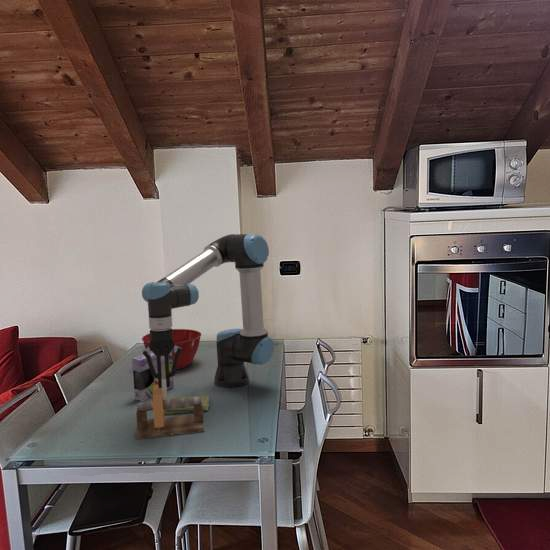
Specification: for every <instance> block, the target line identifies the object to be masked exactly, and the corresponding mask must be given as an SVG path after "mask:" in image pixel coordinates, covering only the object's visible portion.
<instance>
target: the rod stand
mask: <svg viewBox="0 0 550 550" xmlns="http://www.w3.org/2000/svg"><path fill="white" fill-rule="evenodd" d="M191 406H194V412H193V414H185V415H179V416H177V415H176V416H168V417H164V427H158V428H155V427H154V418H150V419H149V418H148V416H147V415H148V414H147V412H150V411H152V412H154V411H153V400H152V401H145V402H144V401H141V402H138V403H137V408H136V412H135V415H136V428H137V430H136V440H141V439H140V438H144V439H149V438H148V437H153V438H156V437H155V436H161V437H165V436H164V435H170V436H172V435H171V434H178V435H182V434H181V433H187V434H190V433H189V432H196V433H200V432H199V431H204V432H205V423H204V412H203V405H202V402H201V397H191V398H181V399H172V400H165V399H164V400H163V409H172V408H181V407H191Z"/></svg>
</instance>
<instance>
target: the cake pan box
mask: <svg viewBox="0 0 550 550" xmlns="http://www.w3.org/2000/svg"><path fill="white" fill-rule="evenodd" d="M150 356H151V359H152V362H153V365H154V368H155V371H156V373H158V370H157V356H156V355H155V354H154V353H153V352H152V351H151V353H150ZM168 358H169V372H171V370H172V365H173V364H172V351H171V353H170V354H169V355H168ZM131 361H132V373H133V375H132V376H133V391H134V392H133V393H134V400H136V401H138V400H139V401H138V402H144V401H146V399H147V400H149V399H151V398H153V388H154V385H158V379H157V378H153V377H152V374H151V371H150V368H149V365H148V362H147V359H146V357H145V356H144V355H143V354H141V355H138V356H135V357H132V358H131ZM161 371H162V377H166V372H165V356H161ZM174 385H175V384H174V376H172V377H170V387H167V391H168V390H170V389H172V388H174V387H175V386H174ZM148 398H149V399H148Z"/></svg>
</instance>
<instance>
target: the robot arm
mask: <svg viewBox="0 0 550 550" xmlns="http://www.w3.org/2000/svg"><path fill="white" fill-rule="evenodd" d="M269 253H270V251H269V245H268V242H267V241H266V239H265V238H264V237H263V236H262V235H260V234H254V233H244V234H243V233H242V234H241V233H239V234H234V233H231V234H227V235H224V236H221V237H219V238H217V239H216V240H214V241H212V242H211V243H209V244H207V245H206V246H205V247H204V248H203V250H202V251H201V252H200V253H199V254H197V255H195V256H194V257H193V258H191V259H189V260H188V261H187V262H185V263H183V264H182V265H180V266H179V267H177V268H176V269H174V270H173V271H172V272H170V273H168V274H167V275H166V276H164V277H162V278H161V279H160V280H158V281H156V282H154V281H153V282H147V283H146V284H145V285H144V286H143V287H142V289H141V296H142V299H143V300H144V301H145V302H147V309H148V310H147V312H148V327H149V333H150V344H149V347H148V348H147V349H146V348H145V349H143V351H142V355H144V356H145V357H146V359H147V362H148V365H149V368H150V371H151V374H152V377H153V378H157V379H158V386H159V388H162V396H163V399H167V398H168V390H167V387H170V377H172V376H173V377H174V376H176V375H175V374H176V371H177V370H176V365H177V360H178V355H179V353H180V352H181V347H178V346H176V345H175V343H174V341H173V330H172V329H173V328H172V327H173V316H172V314H173V313H172V311H173V309H177V308H179V309H180V308H183V307H190V306H191V305H195V304H197V302H198V301H199V297H200V295H199V294H200V293H199V290H198V288H197V286H196V285H195V284H193V283H192V282H194V281H195V280H197V279H198V278H199V277H202V275H204V274H205V273H207V272H209V270H211V269H213V268H216V267H220V266H221V265H223V264H226V263H227V264H228V263H234V265H235V266H234V268H235V270H237V271H238V275H239V285H240V286H239V287H240V297H241V299H240V303H241V315H242V317H241V318H242V328H230V329H225V330H221V331H219V332H218V333H217V334H216V341H215V343H216V355H217V356H216V358H217V367H216V371H215V373H214V374H215V375H214V380H213V381H214V384H215V385H216V386H218V387H220V388H221V387H222V388H237V387H241V386H245V385H247V384H248V383H249V382H250V376H249V373H248V369H247V367H246V365H245V363H249V364H253V365H259V366H261V365H265V364H267V363H268V362H269V361H271V358H272V356H274V352H275V342H274V340H273V339H272V338H271V337H270V336H269V334H268V333H269V332H268V329H267V328H265V326H264V310H263V294H262V293H263V292H262V277H261V270H262V269H263V268H264V267H265V266H264V263H266V262H267V261H268V257H269ZM242 329H243V330H242ZM173 348H174V352H175V355H174V360H173V365H172V370H171V372H169V358H168V355H169V354H170V353H171V351H172V350H173ZM150 350H151V351H152V352H153V353H154V354H155V355H156V356H157V370H158V373H156V371H155V368H154V365H153V362H152V359H151V356H150V353H151V352H150ZM161 356H165V372H166V377H162V371H161Z"/></svg>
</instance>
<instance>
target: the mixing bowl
mask: <svg viewBox="0 0 550 550" xmlns="http://www.w3.org/2000/svg"><path fill="white" fill-rule="evenodd" d="M172 330H173V341H174V343H175V345H176V346H178V347H181V352H180V353H179V355H178V360H177V365H176V369H177V370H180V369H184V368H186V367H188V366H189V365H190V364H191V363H192V362H193V361H194V358H195V357H196V354H197V352H198V349H199V345H200V343H201V342H200V340H201V336H202V333H201V332H200V331H198V330H195V329H189V328H188V329H186V328H172ZM141 341H143V345H144V347H145V349H147V348H148V347H149V344H150V332H149V333H148V334H145V335H143V336H142V338H141ZM150 352H151V350H150ZM174 355H175V352H174V348H173V350H172V364H173V360H174Z"/></svg>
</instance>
